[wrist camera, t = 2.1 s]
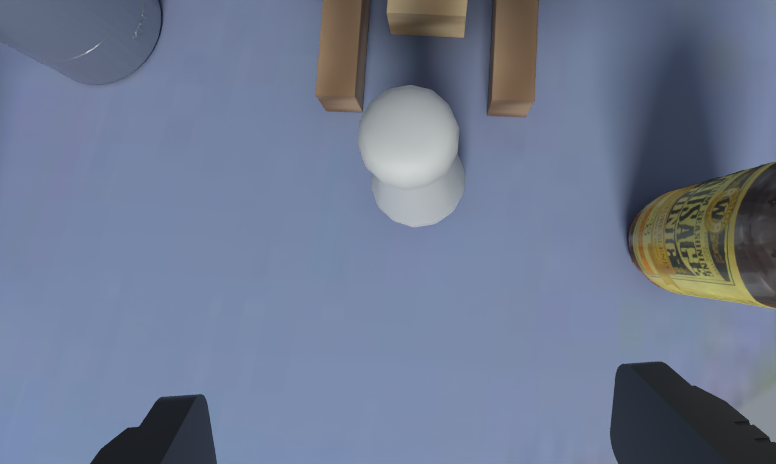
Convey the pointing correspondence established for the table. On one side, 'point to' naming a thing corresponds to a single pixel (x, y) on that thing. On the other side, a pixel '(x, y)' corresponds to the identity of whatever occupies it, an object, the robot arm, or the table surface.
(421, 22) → the block
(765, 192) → the sauce bottle
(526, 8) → the slot
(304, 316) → the table surface
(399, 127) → the salt shaker
